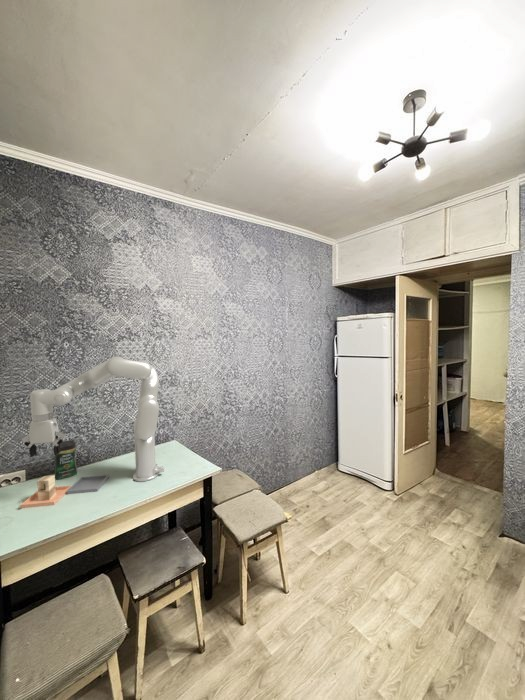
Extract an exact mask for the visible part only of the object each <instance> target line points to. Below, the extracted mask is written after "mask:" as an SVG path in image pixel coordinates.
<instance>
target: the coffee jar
mask: <svg viewBox="0 0 525 700" xmlns="http://www.w3.org/2000/svg"><path fill="white" fill-rule="evenodd" d="M53 445H54V444H53ZM54 446H55V445H54ZM54 446H53V447H54ZM76 449H77V446H76V441H75V440H74V439H72V440H65V441H63V442H62V443H61V444H60V453H59V454H57V455H54V456H55V465H54V475H55V481H56V480H57V481H59V480H64V479H68V478H73V477H75V476H76V475H77V474H78V467H77V462H76Z"/></svg>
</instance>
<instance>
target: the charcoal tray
mask: <svg viewBox="0 0 525 700" xmlns="http://www.w3.org/2000/svg"><path fill="white" fill-rule="evenodd" d="M109 478H110V474H100V475H87V476H80V478H79V479H77V480H76V482H74V483H73V485H71V488H70V489H68V490H67V493H66V495H74V494H85V493H96V492H99V491H100V489H101V488H102V487H103V485H104V484H105V483H106V482H107V480H108V479H109Z"/></svg>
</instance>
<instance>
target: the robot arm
mask: <svg viewBox="0 0 525 700" xmlns="http://www.w3.org/2000/svg"><path fill="white" fill-rule="evenodd" d="M115 377H121V378H127V379H135V380H141V382H140V383H141V385H140V392H139V398H138V401H137V409H138V410H137V414H136V415H137V416H136V418H135V420H134V422H133V435H134V436H133V437H134V439H133V440H134V455H135V456H134V457H135V458H134V459H135V460H134V461H135V472H134V473H133V475H132V479H133V480H134V481H135V482H147V481H151V480H153V479H155V478H157V477H158V476H159V475H160V473H164V472H165V467H163V466H158V463H156V462H157V461H156V441H155V439H156V438H155V434H156V430H157V425H158V421H159V420H158V419H159V414H160V413H159V412H160V404H159V402H158V395H159V387H160V386H159V385H160V377H159V374H158V372H157V370H156V368H155V367H154V366H153V365H152V364H150V363H149V362H148V361H146V360H133V359H126V358H123V357H121V356H113V357H111V358H109V359H107V360H106V361H104V362H102V363H100V364H98V365H97V366H95V367H93V368H91V369H89V370H87V371H85V372H84V373H82V374H81V375H79V376H77V377H76V378H73V379H72V380H70V381H68V382H66V383H65V384H63V385H60V386H59V387H58V388H56V389H52V390H51V389H48V388H47V389H46V388H45V389H44V388H43V389H36V390H33V391H31V392H30V394H29V398H30V411H31V413H30V414H31V421H30V423H29V429H28V431H29V432H28V435H26V436H24V437H23V438H21V440H22V442H23V443H24V445H25V446H26V447H27V449H28V450H29V457H30V458H33V457H35V456H36V455H37V446H36V445H37V444H50V443H52V444H53V445H55V446H53V455H54V456H55V455H57V454H59V453H60V444H61V443H62V442H65V441H64V440H65V439H66V436H67V435H66V433H63V432H61V431H60V429H59V424H58V421H57V418H56V417H57V414H56V413H54V406H63V405H66V404H68V403H69V402H70V401H71V400H72V399H73V398H75V397H77V396H78V395H80V394H82V393H84V392H85V391H87V390H89V389H93V388H96V387H99V386H101V385H103V384H104V383H106V382H109V380H111V379H113V378H115Z"/></svg>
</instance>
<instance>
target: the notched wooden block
mask: <svg viewBox="0 0 525 700" xmlns="http://www.w3.org/2000/svg"><path fill="white" fill-rule="evenodd" d="M55 487H56V479H55V474H54V475H44V476H42V477H41V478H40V479H38V480H37V491H38V500H39V501H45V500H50V499H51V498H52V497H54V496H55V495H56V488H55Z"/></svg>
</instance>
